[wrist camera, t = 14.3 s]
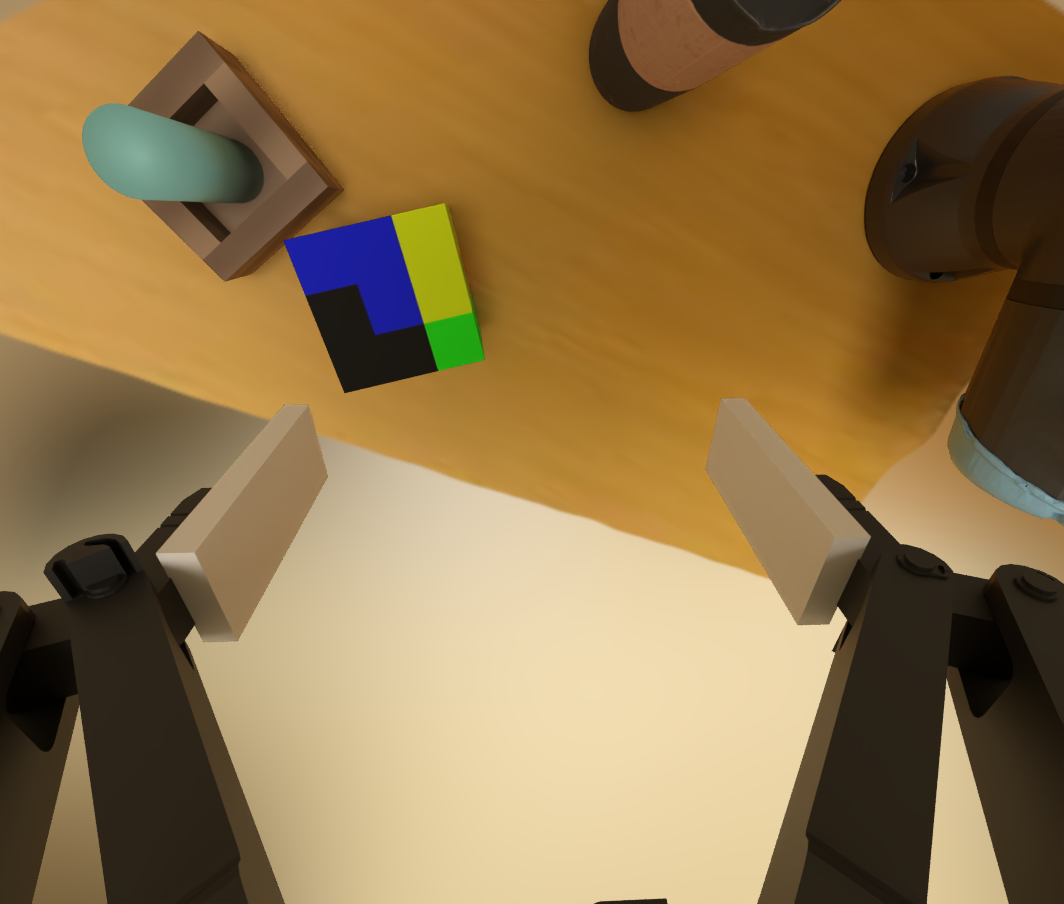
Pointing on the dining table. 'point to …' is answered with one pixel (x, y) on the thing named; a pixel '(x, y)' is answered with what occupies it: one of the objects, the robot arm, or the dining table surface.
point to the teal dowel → (168, 158)
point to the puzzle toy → (390, 296)
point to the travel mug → (684, 43)
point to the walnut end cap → (251, 118)
